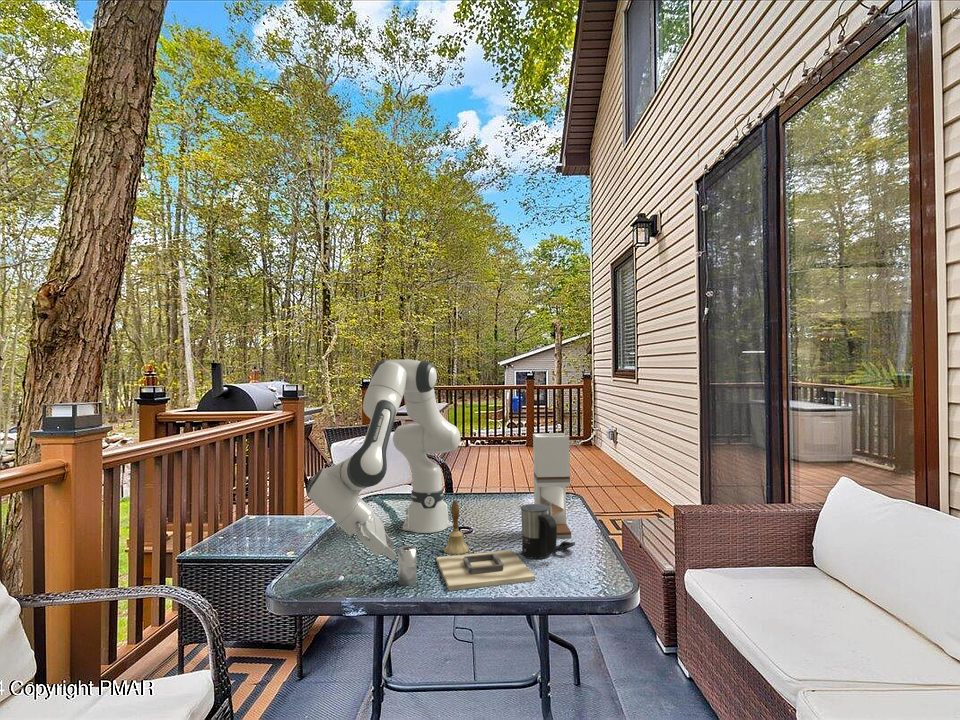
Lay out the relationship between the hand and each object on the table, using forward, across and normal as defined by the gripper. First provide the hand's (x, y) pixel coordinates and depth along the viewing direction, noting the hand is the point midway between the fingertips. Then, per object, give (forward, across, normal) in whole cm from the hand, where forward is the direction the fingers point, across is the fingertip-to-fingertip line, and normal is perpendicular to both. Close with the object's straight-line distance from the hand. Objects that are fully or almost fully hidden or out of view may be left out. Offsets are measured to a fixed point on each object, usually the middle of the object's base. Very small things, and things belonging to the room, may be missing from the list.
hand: (393, 551), depth 137 cm
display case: (+47, +28, -34) cm, 65 cm away
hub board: (+24, +2, -12) cm, 27 cm away
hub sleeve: (+9, 0, +4) cm, 9 cm away
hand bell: (+21, +21, -9) cm, 31 cm away
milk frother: (+41, +10, -28) cm, 51 cm away
